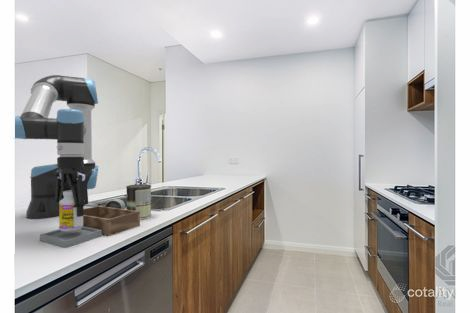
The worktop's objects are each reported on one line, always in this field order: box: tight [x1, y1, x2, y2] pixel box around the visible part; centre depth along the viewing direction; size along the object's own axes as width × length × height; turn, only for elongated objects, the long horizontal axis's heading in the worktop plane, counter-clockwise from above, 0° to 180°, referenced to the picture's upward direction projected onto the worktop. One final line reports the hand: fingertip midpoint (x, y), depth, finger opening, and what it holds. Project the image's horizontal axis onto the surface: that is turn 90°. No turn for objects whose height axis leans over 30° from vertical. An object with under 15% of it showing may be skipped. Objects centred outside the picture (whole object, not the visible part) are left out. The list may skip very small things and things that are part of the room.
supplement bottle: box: [58, 190, 83, 232], centre depth 84 cm, size 7×7×13 cm
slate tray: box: [39, 226, 103, 249], centre depth 84 cm, size 14×12×2 cm
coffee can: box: [125, 183, 152, 221], centre depth 111 cm, size 10×10×14 cm
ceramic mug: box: [104, 198, 126, 209], centre depth 114 cm, size 11×8×8 cm
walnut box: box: [83, 205, 141, 237], centre depth 98 cm, size 24×14×6 cm, turn 64°
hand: (71, 224), depth 84 cm, fingers closed on supplement bottle, 7 cm apart
